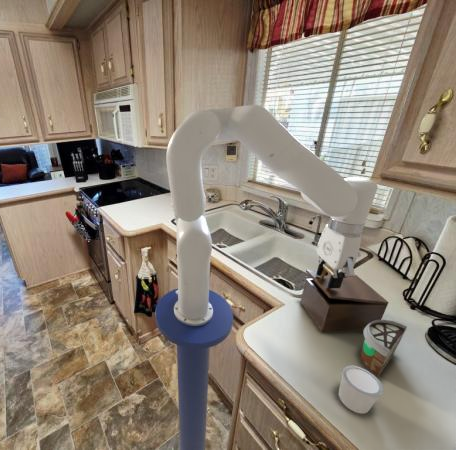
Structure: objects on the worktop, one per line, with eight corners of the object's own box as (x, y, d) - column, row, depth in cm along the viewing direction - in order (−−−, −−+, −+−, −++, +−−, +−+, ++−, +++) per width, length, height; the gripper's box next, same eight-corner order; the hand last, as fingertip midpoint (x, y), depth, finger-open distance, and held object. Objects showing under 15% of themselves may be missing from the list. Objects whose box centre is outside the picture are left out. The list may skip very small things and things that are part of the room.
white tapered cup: (329, 383, 59) (336, 364, 56) (360, 385, 59) (369, 365, 56) (346, 415, 53) (354, 395, 50) (381, 418, 52) (392, 397, 49)
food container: (366, 337, 70) (377, 311, 66) (394, 353, 65) (408, 325, 61) (346, 361, 64) (356, 333, 60) (375, 380, 60) (389, 351, 55)
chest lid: (329, 298, 68) (338, 280, 65) (305, 271, 79) (312, 255, 77) (387, 304, 68) (398, 287, 66) (355, 276, 80) (363, 261, 77)
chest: (321, 331, 73) (329, 306, 69) (300, 302, 84) (305, 278, 80) (376, 330, 72) (387, 304, 68) (347, 300, 84) (355, 277, 80)
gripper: (313, 213, 73) (300, 265, 81) (353, 240, 58) (332, 301, 65) (339, 213, 73) (323, 264, 81) (386, 240, 58) (361, 301, 65)
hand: (327, 280), depth 73 cm, fingers closed on chest lid, 5 cm apart
